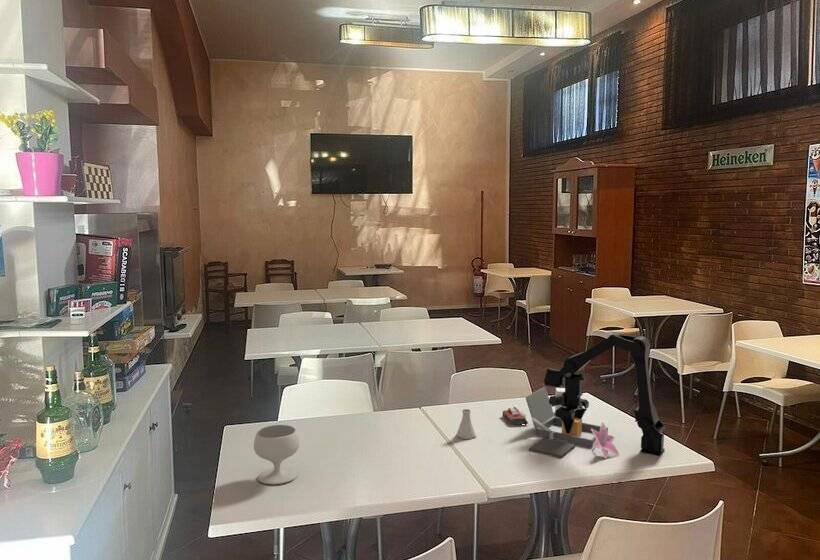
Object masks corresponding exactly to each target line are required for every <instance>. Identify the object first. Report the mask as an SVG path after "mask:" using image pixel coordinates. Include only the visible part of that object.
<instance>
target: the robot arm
mask: <svg viewBox="0 0 820 560" xmlns="http://www.w3.org/2000/svg"><path fill="white" fill-rule="evenodd" d="M613 347H617V348H619V349H621V350H625V351H628V352H629V354H630V358H631V359H632V361H633V364H634V369H635V379H636V386H637V393H638V404H639V405H638V406H637V407H636V408H635V409H634V410H633V413H634V416H635V417H634V418H635V421H634V423H636V424H637V426H638V428H639V429H640V430H641V432H642V435H641V438H640V452H642V453H647V454H651V455H656V456H661V455H663V453H664V452H665V450H666V449H665V448H664V446H665V445H664V444H665V443H664V442H665V434H664V433H663V432H664V430H665V428H666V425H664V423H663V422H662V421H661V420H660V419H659V415H658V411H657V408H656V406H655V405H654V401H653V396H652V395H653V394H652V387H651V386H652V385H651V377H650V371H649V358H650V354H651V353H650V352H651V342H650V340H649V339H648V338H647V337H645V336H641V335H640V336H632V335H625V334H620V333H618V332H617V333H613V334H611V335H609V336H608V337H607V338H605V339H604V340H602V341H601V342H599V343H597V344H595V345H594V346H592V347H590V348H589V349H587V350H586V351H583V352H580V353H577V354H574V355H572V356H570V357H568V358H566V359H565V360H564V362H563V367H561V368H560V369H556V368H553V367H549V368H547V369H546V372H545V375H544V379H543V382H544V386H545V387H551V388H563V387H564V388H565V392H563V393H562V395H556V396H555V395H550V396H549V404H551V406H552V408H553V407H554V408H555V406H556V405H561V406H563V407H560V408H559V409H557V410H556V411H555V410H554V416H555V417H558V418H561V419H562V421H563V423H564V427H565V430H566V433H568V434H569V433H570V431H571V428H572V426H573V423H574V420H575V418H579V419H582V420H583V417H584V415H585V413H586V411H587V409H588V408H589V407H590V402H589V401H588V399H585V398H582V396H583V393H584V392H582V381H585V380H587V379H588V377H587V376H586V375H585V374H584V372H580V373H577V372H579V371H581V370H582V369H583V368H584V367H586V365H587V364H589V363H590V361H592V360H593V359H595V358H597V357H598V356H600V355H602V354H603V353H605V352H606V351H608V350H610V349H612V348H613ZM564 407H566V408H564Z"/></svg>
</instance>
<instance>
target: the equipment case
mask: <svg viewBox="0 0 820 560" xmlns="http://www.w3.org/2000/svg"><path fill="white" fill-rule="evenodd" d="M546 387H547V386H544V387H542V388H540V389H538V390H536V391H533V392H532V393H531V394H529V395H527V396H525V401H526V403H527V404H526V405H527V407H528V411H529V413H530V417H531V421H532V424H533V427H534V430H535V436H540V437H543V438H547V439H551V440H556V441H560V442H565V443H569V444H573V445H580V446H584V447H588V448H594V447H593V443H594V441H595V440H596V437H595V436H593V437H592V438H591V439H589V438H586V437H582V436H579V437H577V436H572V435H568V434H563V433H562V432H558V431H553V430H552V429H550V427H552V426H553V425H560V426H562V419H561V418H559V417H556V416H555V412H554V410H553V407H552V406H551V404H549V398H550V396H549V394H548V390H547V388H546ZM551 425H552V426H551ZM600 427H601V425H596V424H592V423H588V422H583V421H582V430H583V431H587V432H592V431H591V429H594V430H596V431H598V432H599V431H600ZM605 427H606V426H605ZM606 429H607V432H609V427H606Z"/></svg>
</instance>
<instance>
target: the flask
mask: <svg viewBox="0 0 820 560" xmlns="http://www.w3.org/2000/svg"><path fill="white" fill-rule="evenodd" d="M471 411H472V410H471V409H469V408H463V409H461V412H462V418H461V421H460V424H459V426H458V429H457V432H456V436H457V438H459V439H462V440H471V439H474V438H476V437H477V436H476V432H475V429H474V426H473V424H472V419H471Z"/></svg>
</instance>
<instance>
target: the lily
mask: <svg viewBox="0 0 820 560" xmlns="http://www.w3.org/2000/svg"><path fill="white" fill-rule="evenodd" d="M600 426H601V427H600V431H599V432H598V431H596V430H594V429H591V431H590V432H591V433H592V434H593V435H594V436H593V437H596V440H595V441H594V443H593V447H592V450H591V451H592V452H593V451H594V450H595V449H600V450H601V452H602V454H603V456H604V459H605V460H607V459H608V455H609V453H611V454H614V455H616V456H618V455H619V456H620V453H619V451H618V449H617V448H616V446H615V445H614V443H613V442H614V441H615V437H614V435H611V434H609V433H608V432H609V431H608V432H607V429H606V425H605V423H604V422H603V421H602V422H601V424H600ZM606 458H607V459H606Z"/></svg>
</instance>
